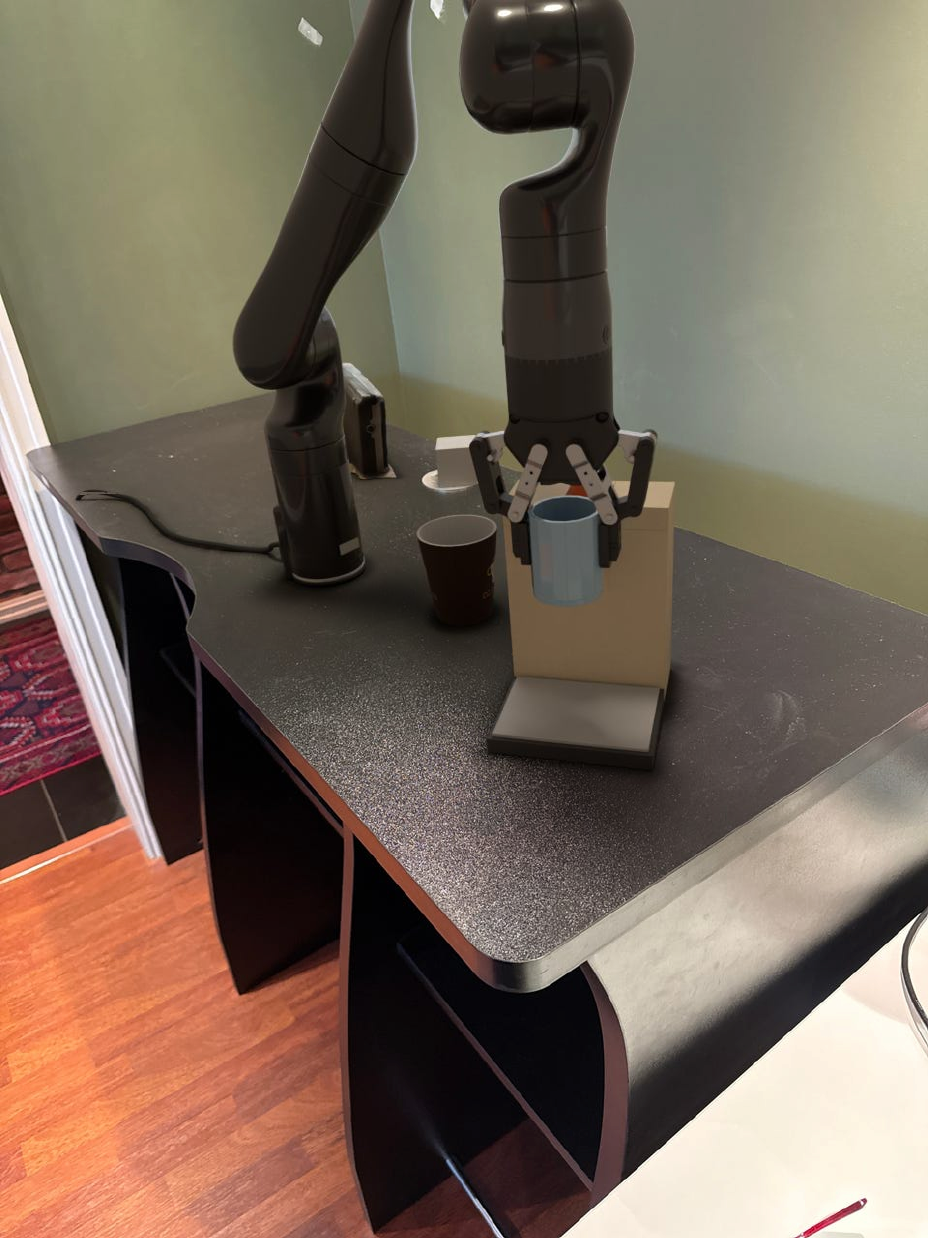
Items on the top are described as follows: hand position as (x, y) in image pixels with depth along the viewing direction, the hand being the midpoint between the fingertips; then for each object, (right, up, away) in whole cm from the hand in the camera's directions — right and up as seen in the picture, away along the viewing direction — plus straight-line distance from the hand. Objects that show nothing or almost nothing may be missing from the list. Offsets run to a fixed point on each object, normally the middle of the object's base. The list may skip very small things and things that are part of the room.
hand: (566, 561), depth 69 cm
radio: (-25, +23, +83) cm, 89 cm away
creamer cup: (0, -2, +1) cm, 3 cm away
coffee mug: (-7, -3, +31) cm, 32 cm away
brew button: (+3, +6, +7) cm, 9 cm away
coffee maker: (+3, -13, +12) cm, 17 cm away
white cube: (-9, +17, +69) cm, 72 cm away
